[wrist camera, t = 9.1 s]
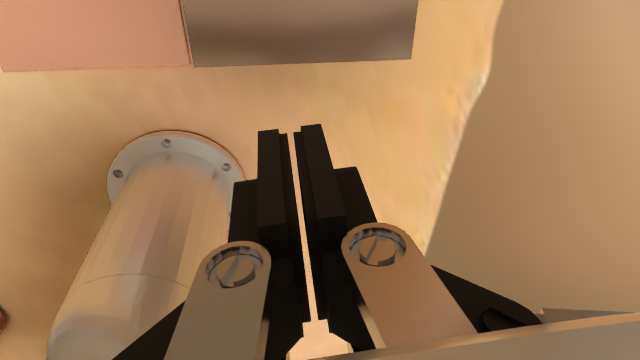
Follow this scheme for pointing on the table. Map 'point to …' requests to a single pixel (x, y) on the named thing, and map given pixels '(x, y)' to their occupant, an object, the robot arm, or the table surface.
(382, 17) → the deck
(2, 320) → the sauce bottle
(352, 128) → the table surface
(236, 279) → the robot arm
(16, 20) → the mat
